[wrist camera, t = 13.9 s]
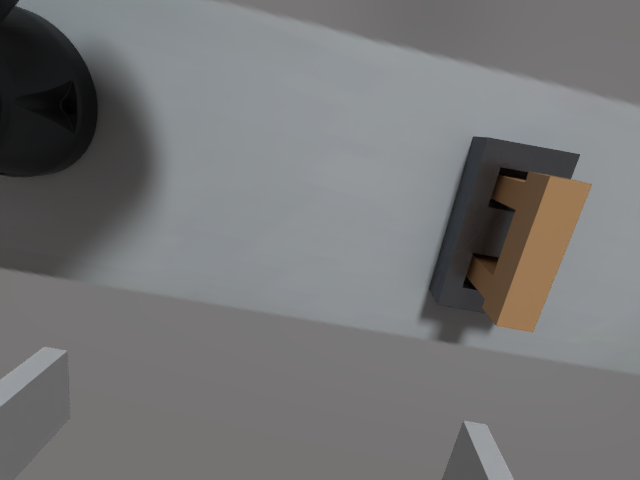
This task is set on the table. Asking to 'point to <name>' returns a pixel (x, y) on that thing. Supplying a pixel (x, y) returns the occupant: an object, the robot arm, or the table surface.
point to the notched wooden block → (528, 247)
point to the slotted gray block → (485, 213)
